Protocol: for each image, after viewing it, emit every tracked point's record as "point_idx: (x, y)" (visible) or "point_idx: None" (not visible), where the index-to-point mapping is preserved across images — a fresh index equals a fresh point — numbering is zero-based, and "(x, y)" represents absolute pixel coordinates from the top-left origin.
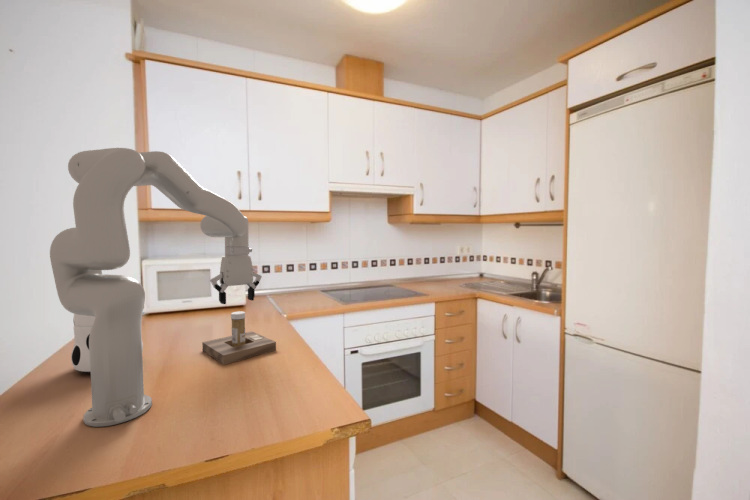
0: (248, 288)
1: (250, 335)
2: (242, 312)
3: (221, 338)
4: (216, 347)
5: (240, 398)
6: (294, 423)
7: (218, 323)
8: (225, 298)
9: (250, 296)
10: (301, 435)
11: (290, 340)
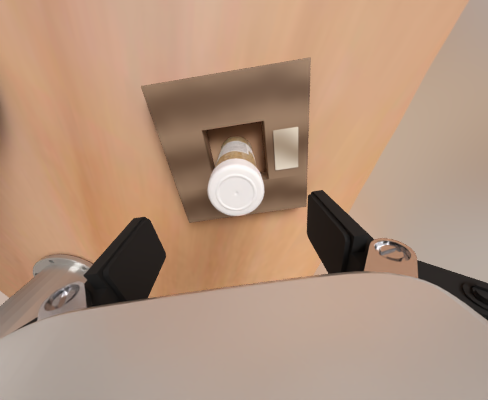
0: (352, 242)
1: (284, 111)
2: (251, 202)
3: (200, 83)
4: (179, 166)
5: None
6: None
7: None
8: (152, 282)
9: (316, 236)
10: None
11: (364, 153)
